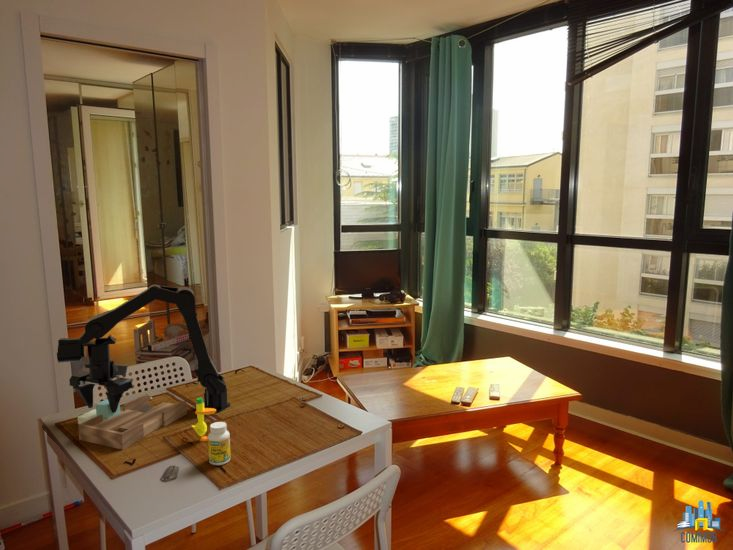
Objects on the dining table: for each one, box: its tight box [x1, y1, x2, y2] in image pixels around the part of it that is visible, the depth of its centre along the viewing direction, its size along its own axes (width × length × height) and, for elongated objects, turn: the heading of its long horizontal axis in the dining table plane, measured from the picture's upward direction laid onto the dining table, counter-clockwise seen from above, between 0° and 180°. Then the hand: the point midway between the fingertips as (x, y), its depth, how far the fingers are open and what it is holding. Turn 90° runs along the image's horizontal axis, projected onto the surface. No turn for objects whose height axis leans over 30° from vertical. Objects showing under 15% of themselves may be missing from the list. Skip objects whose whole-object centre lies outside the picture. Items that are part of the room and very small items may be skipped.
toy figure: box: [191, 397, 217, 442], centre depth 142 cm, size 7×4×12 cm, turn 99°
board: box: [77, 408, 123, 425], centre depth 155 cm, size 10×8×2 cm
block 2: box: [160, 465, 180, 482], centre depth 125 cm, size 4×6×2 cm, turn 11°
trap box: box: [77, 393, 188, 451], centre depth 151 cm, size 16×25×4 cm, turn 159°
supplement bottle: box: [207, 421, 232, 466], centre depth 131 cm, size 5×5×10 cm
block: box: [94, 398, 122, 419], centre depth 153 cm, size 4×4×4 cm
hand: (102, 410), depth 154 cm, fingers open, 9 cm apart
